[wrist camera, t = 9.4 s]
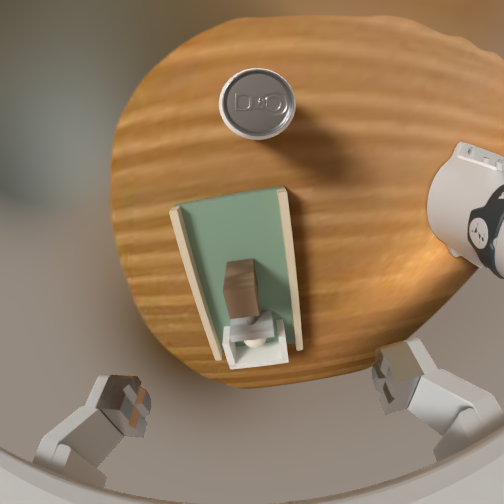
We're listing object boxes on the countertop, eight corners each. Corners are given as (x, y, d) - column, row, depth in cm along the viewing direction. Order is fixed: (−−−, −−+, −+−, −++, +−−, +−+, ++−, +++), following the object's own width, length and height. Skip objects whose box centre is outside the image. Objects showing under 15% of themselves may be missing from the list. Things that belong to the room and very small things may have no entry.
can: (280, 136, 32) (297, 144, 22) (226, 134, 32) (215, 140, 22) (283, 85, 30) (301, 67, 19) (228, 82, 30) (218, 63, 19)
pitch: (283, 185, 35) (286, 191, 32) (300, 337, 46) (303, 349, 43) (174, 204, 36) (169, 211, 33) (217, 347, 47) (215, 360, 44)
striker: (262, 256, 38) (265, 285, 32) (272, 316, 42) (275, 349, 36) (217, 263, 38) (211, 293, 32) (232, 322, 43) (230, 355, 36)
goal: (282, 319, 43) (285, 336, 39) (286, 344, 45) (288, 362, 41) (224, 326, 43) (222, 344, 40) (231, 351, 46) (230, 369, 42)
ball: (267, 346, 39) (268, 346, 43) (264, 322, 41) (265, 324, 44) (242, 349, 40) (245, 349, 43) (239, 325, 41) (243, 327, 44)
